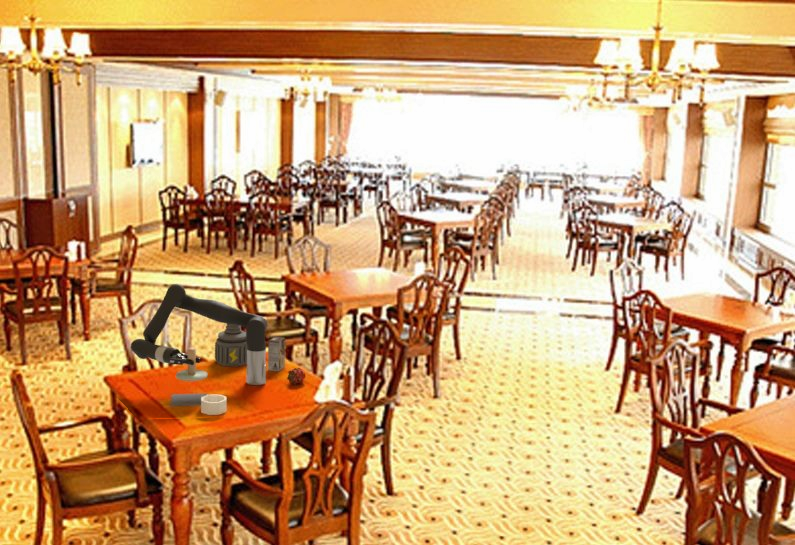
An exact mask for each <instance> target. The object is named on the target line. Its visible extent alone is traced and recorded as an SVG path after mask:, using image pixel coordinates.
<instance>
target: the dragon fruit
mask: <svg viewBox="0 0 795 545" xmlns="http://www.w3.org/2000/svg"><path fill="white" fill-rule="evenodd" d="M306 377H307V376H306V374H305V371H304V370H303V369H301V367H297V368H295V367H294V368H293V369H292V370H289V371H288V375H287V378H286V379H287V380H288V382H290V383H292V384H293V385H297V384H303V383H304V380H305V378H306Z"/></svg>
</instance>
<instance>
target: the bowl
mask: <svg viewBox="0 0 795 545" xmlns="http://www.w3.org/2000/svg"><path fill="white" fill-rule="evenodd" d="M227 404H228V403H227V396H225V395H222V394H207V395H206V396H203V397H201V405H200V412H201V413H202V414H204V415H207V416H213V415H214V416H217V415H222V414H224V413H226V412H227V408H228V407H227Z"/></svg>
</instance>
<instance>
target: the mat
mask: <svg viewBox="0 0 795 545" xmlns="http://www.w3.org/2000/svg"><path fill="white" fill-rule="evenodd" d="M206 395H208V393H176V394H175V393H174V394H171V398H170V407H186V406H187V407H189V406H190V407H191V406H193V407H195V406H201V397H203V396H206Z"/></svg>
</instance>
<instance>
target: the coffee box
mask: <svg viewBox="0 0 795 545" xmlns="http://www.w3.org/2000/svg"><path fill="white" fill-rule="evenodd" d="M267 345H268V346H267V347H268V351H267V371H269V372H270V371H271V372H280V371H281V370H283V369H284V368H285V366H286V365H285V363H286V337H283V336H282V337H280V336H273V337H272V338H270V339H269V340H268V343H267Z"/></svg>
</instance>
